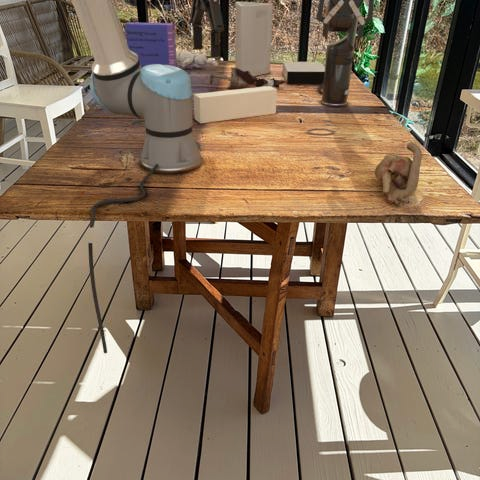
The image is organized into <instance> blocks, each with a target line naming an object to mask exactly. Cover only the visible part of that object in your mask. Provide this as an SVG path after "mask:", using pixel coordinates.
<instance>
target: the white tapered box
mask: <svg viewBox="0 0 480 480" xmlns="http://www.w3.org/2000/svg"><path fill="white" fill-rule="evenodd" d="M273 8H274V4H273V3H269V2H267V3H266V2H265V3H264V2H252V1H235V59H234V60H235V62H234V63H235V65H234V66H235V67H234V68H237V69H240V70H242V71H244V72H245V71H249V72H250V73H251V75H252V76H256V77H257V76H259V75H260V76H261V75H266V74H270V73H271V56H272V55H271V54H272V33H273V32H272V31H273V10H274V9H273Z"/></svg>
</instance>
